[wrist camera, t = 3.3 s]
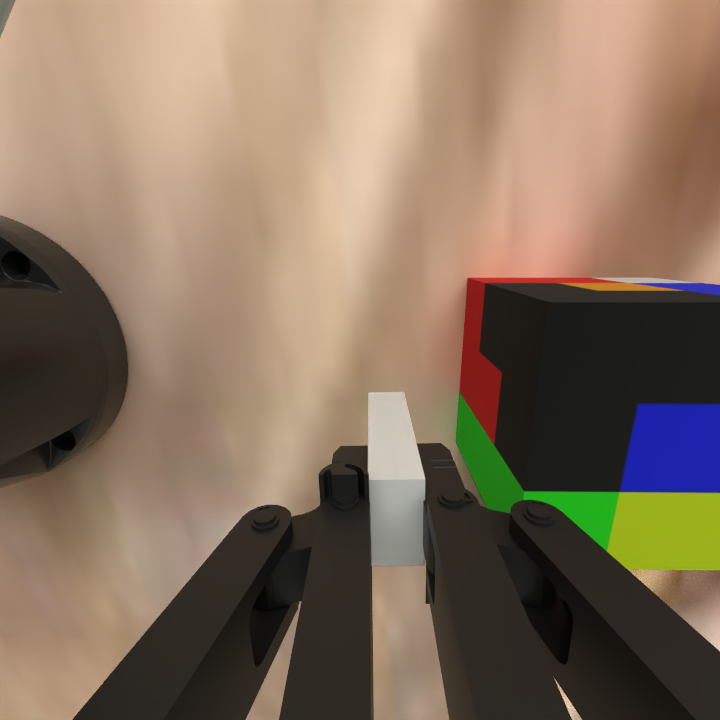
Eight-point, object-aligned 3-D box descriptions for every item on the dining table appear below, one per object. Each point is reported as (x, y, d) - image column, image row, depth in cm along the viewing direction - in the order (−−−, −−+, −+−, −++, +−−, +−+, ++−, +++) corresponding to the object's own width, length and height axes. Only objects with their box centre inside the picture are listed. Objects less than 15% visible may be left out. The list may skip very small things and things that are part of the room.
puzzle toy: (650, 277, 21) (882, 302, 12) (617, 442, 24) (783, 570, 15) (467, 277, 22) (549, 302, 12) (455, 441, 24) (514, 568, 15)
